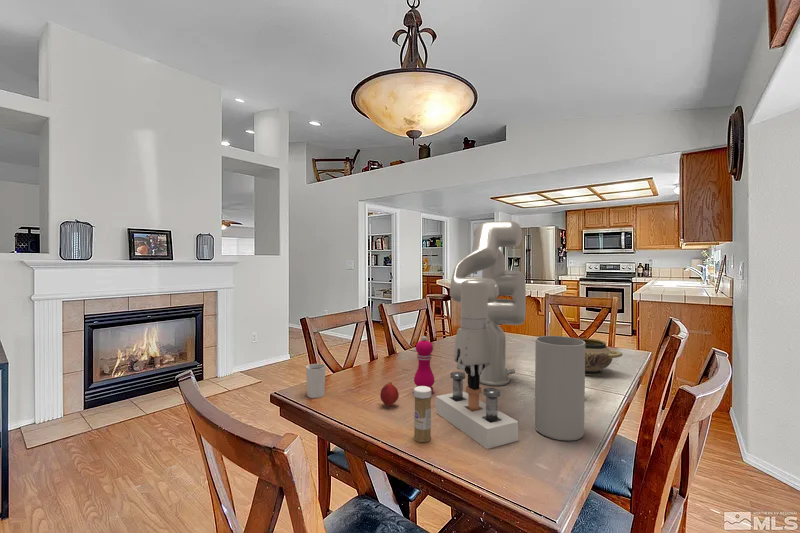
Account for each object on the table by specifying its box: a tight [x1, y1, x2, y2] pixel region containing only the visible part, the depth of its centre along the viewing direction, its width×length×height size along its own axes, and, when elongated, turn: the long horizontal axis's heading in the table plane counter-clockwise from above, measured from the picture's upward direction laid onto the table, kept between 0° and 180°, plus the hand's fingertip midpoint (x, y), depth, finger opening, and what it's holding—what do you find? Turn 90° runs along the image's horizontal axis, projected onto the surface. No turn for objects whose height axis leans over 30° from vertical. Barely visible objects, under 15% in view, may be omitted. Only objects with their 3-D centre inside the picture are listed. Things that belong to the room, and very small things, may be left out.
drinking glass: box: [305, 363, 326, 399], centre depth 133 cm, size 7×7×10 cm
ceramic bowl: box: [579, 338, 623, 376], centre depth 159 cm, size 24×18×15 cm
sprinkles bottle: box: [413, 386, 432, 443], centre depth 101 cm, size 5×5×13 cm
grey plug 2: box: [482, 387, 502, 423], centre depth 102 cm, size 4×4×8 cm
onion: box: [379, 380, 400, 407], centre depth 123 cm, size 6×6×8 cm
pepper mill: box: [413, 335, 436, 395], centre depth 135 cm, size 7×7×20 cm
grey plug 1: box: [450, 371, 466, 402], centre depth 116 cm, size 4×4×8 cm
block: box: [435, 390, 519, 450], centre depth 109 cm, size 10×25×5 cm, turn 25°
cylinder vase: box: [534, 335, 586, 442], centre depth 105 cm, size 12×12×25 cm
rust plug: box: [465, 385, 483, 412], centre depth 109 cm, size 4×4×8 cm
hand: (473, 388), depth 109 cm, fingers closed
